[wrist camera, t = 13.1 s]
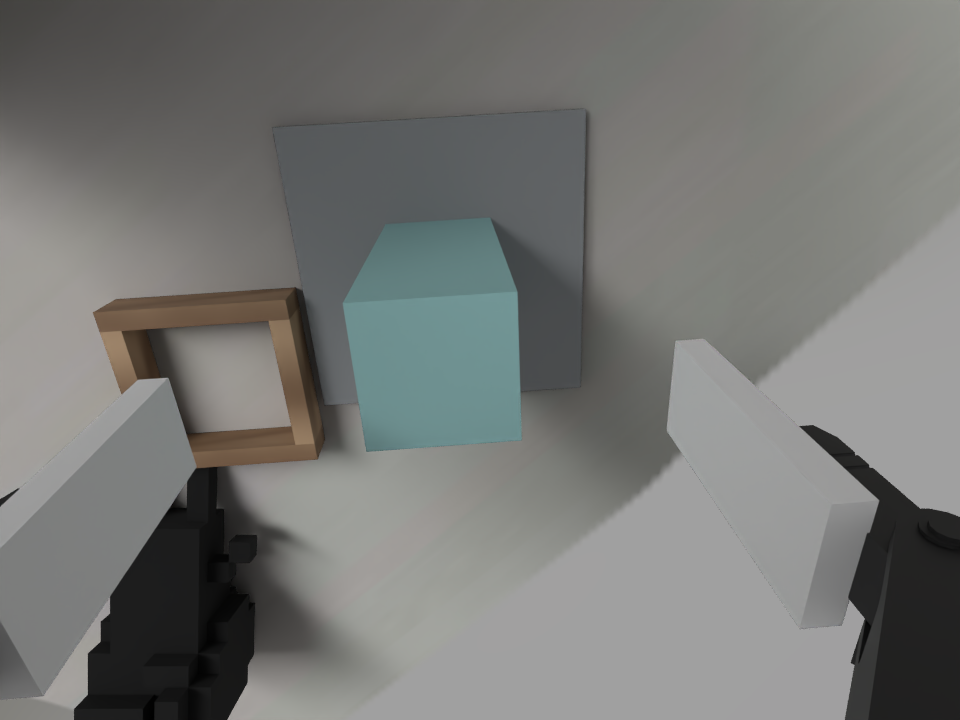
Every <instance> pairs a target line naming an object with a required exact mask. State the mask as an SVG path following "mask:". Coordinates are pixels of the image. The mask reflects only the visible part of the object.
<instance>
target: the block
mask: <svg viewBox="0 0 960 720" xmlns="http://www.w3.org/2000/svg"><path fill="white" fill-rule="evenodd" d="M343 309H344V315H345V321H346V327H347V333H348V340H349V346H350V352H351V358H352V365H353V371H354V377H355V383H356V390H357V396H358V402H359V408H360V415H361V421H362V427H363V433H364V440H365V446H366V452H370V451H383V450H397V449H411V448H424V447H438V446H452V445H465V444H479V443H493V442H506V441H520V440H522V434H521V399H520V364H519V329H518V294H517V289H516V286H515V284H514V281H513V278H512V275H511V273H510V270H509V267H508V265H507V262H506V259H505V256H504V254H503V251H502V248H501V246H500V243H499V240H498V237H497V235H496V232H495V229H494V227H493V224H492V221H491V218H490V217H489V218H473V219H458V220H442V221H426V222H411V223H395V224H385V226H384V228H383V230H382V232H381V234H380V235H379V237H378V239H377V241H376V243H375V245H374V247H373V248H372V250H371V252H370V254H369V256H368V258H367V259H366V261H365V263H364V265H363V267H362V269H361V270H360V272H359V274H358V276H357V278H356V280H355V281H354V283H353V285H352V287H351V289H350V291H349V293H348V294H347V296H346V298H345V300H344V302H343Z"/></svg>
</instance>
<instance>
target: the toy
mask: <svg viewBox="0 0 960 720" xmlns="http://www.w3.org/2000/svg"><path fill="white" fill-rule="evenodd" d="M216 503H217V467H206V468H196V469H195V470H194V472H193V473H192V475H191V476H190V478H189V479H188V481H187V508H169V509H168V511H167V512H166V513H165V515H164V516H163V518H162V519H161V521H160V522H159V524H158V525H157V527H156V528H155V530H154V531H153V533H152V534H151V536H150V537H149V539H148V540H147V542H146V543H145V545H144V546H143V548H142V549H141V551H140V552H139V554H138V555H137V557H136V558H135V560H134V561H133V563H132V564H131V566H130V567H129V569H128V570H127V572H126V573H125V575H124V576H123V578H122V579H121V581H120V582H119V584H118V585H117V587H116V588H115V590H114V591H113V593H112V594H111V596H110V614H109V615H108V616H107V617H106V618H105V619H103V620H102V621H101V642H100V643H99V644H98V645H97V646H96V647H95V648H93V649H92V650H91V651H90V652H89V653H88V695H87V696H86V697H85V698H84V699H83V701H82V702H81V703H80V704H79V705H78V706H77V707H76V708H75V709H74V720H227V719H228V717H229V715H230V713H231V712H232V710H233V708H234V706H235V704H236V703H237V701H238V699H239V697H240V695H241V694H242V692H243V690H244V688H245V686H246V685H247V682H248V664H249V662H250V660H251V659H252V657H253V655H254V615H255V603H249V594H237V591H236V586H230V580H231V579H232V578H233V577H234V575H235V574H236V563H250V562H251V561H252V559H253V558H254V557H255V556H256V552H257V535H236V536H235V537H234V538H233V539H232V540H231V541H230V542H229V554H223V551H224V509H216Z"/></svg>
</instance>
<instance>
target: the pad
mask: <svg viewBox="0 0 960 720" xmlns="http://www.w3.org/2000/svg"><path fill="white" fill-rule="evenodd" d="M272 129H273V135H274V140H275V145H276V151H277V156H278V161H279V167H280V172H281V177H282V182H283V188H284V193H285V198H286V204H287V209H288V214H289V220H290V225H291V230H292V236H293V241H294V246H295V252H296V257H297V262H298V267H299V273H300V278H301V283H302V289H303V294H304V299H305V305H306V310H307V315H308V321H309V326H310V331H311V336H312V342H313V347H314V352H315V358H316V363H317V368H318V374H319V379H320V384H321V390H322V395H323V400H324V405H337V404H351V403H359V402H358V396H357V390H356V383H355V377H354V371H353V365H352V358H351V352H350V346H349V340H348V333H347V327H346V321H345V315H344V309H343V302H344V300H345V298H346V296H347V294H348V293H349V291H350V289H351V287H352V285H353V283H354V281H355V280H356V278H357V276H358V274H359V272H360V270H361V269H362V267H363V265H364V263H365V261H366V259H367V258H368V256H369V254H370V252H371V250H372V248H373V247H374V245H375V243H376V241H377V239H378V237H379V235H380V234H381V232H382V230H383V228H384V226H385V224H395V223H411V222H426V221H442V220H458V219H473V218H489V217H490V218H491V221H492V224H493V227H494V229H495V232H496V235H497V237H498V240H499V243H500V246H501V248H502V251H503V254H504V256H505V259H506V262H507V265H508V267H509V270H510V273H511V275H512V278H513V281H514V284H515V286H516V289H517V294H518V329H519V364H520V391H534V390H549V389H563V388H577V387H581V339H582V289H583V238H584V188H585V138H586V109H571V110H554V111H537V112H521V113H504V114H487V115H471V116H454V117H437V118H420V119H404V120H387V121H370V122H354V123H337V124H320V125H304V126H287V127H273V128H272Z"/></svg>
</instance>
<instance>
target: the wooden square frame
mask: <svg viewBox="0 0 960 720" xmlns="http://www.w3.org/2000/svg"><path fill="white" fill-rule="evenodd" d="M93 314H94V317H95V320H96V323H97V325H98V328H99V331H100V334H101V337H102V340H103V343H104V345H105V348H106V351H107V354H108V357H109V360H110V363H111V365H112V368H113V371H114V374H115V377H116V380H117V383H118V385H119V388H120V391H121V394H123V393H124V392H125V391H126V390H127V389H129V388H130V387H131V386H132V385H133V384H134V383H135V382H136V381H137V380H143V379H157V378H161V377H160V373H159V370H158V367H157V364H156V361H155V358H154V354H153V351H152V348H151V345H150V342H149V338H148V335H147V332H146V329H157V328H172V327H187V326H202V325H217V324H231V323H246V322H261V321H269V326H270V331H271V335H272V340H273V344H274V349H275V353H276V358H277V363H278V367H279V372H280V376H281V381H282V385H283V390H284V395H285V399H286V404H287V408H288V413H289V417H290V422H291V427H278V428H264V429H250V430H236V431H223V432H209V433H195V434H186V435H187V438H188V441H189V444H190V447H191V451H192V454H193V457H194V460H195V463H196V466H197V467H196V468H206V467H220V466H233V465H247V464H261V463H274V462H288V461H302V460H315V459H318V457H319V454H320V452H321V449H322V446H323V444H324V441H325V437H324V432H323V426H322V421H321V416H320V411H319V406H318V401H317V395H316V390H315V385H314V380H313V375H312V369H311V364H310V359H309V354H308V349H307V344H306V338H305V333H304V328H303V323H302V318H301V313H300V307H299V302H298V297H297V292H296V288H281V289H266V290H251V291H236V292H221V293H206V294H191V295H176V296H160V297H145V298H130V299H116V300H114V301H112V302H110V303H109V304H107V305H105V306H104V307H102V308H100V309H98V310H97V311H95V312H93Z"/></svg>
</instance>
